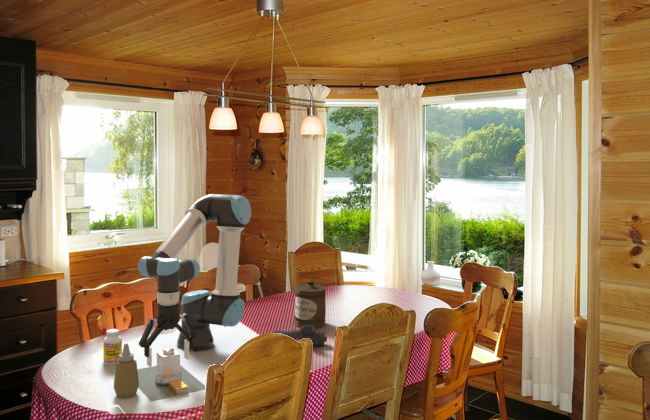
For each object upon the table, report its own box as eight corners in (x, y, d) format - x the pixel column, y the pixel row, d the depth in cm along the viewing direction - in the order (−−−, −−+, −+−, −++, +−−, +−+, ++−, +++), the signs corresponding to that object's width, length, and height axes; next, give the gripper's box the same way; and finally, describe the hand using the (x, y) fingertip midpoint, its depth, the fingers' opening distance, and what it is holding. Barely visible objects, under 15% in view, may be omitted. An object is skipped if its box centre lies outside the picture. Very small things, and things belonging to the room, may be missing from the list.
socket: (173, 370, 211) (173, 346, 210) (180, 375, 206) (180, 351, 205) (156, 373, 208) (156, 349, 207) (162, 379, 203) (162, 354, 202)
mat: (176, 363, 227) (176, 361, 226) (208, 390, 202) (208, 388, 202) (124, 373, 215) (124, 371, 215) (151, 403, 191) (151, 401, 191)
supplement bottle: (102, 366, 221) (102, 333, 220) (104, 360, 228) (103, 328, 226) (121, 365, 223) (121, 332, 222) (122, 359, 229) (122, 327, 228)
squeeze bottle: (108, 398, 193) (107, 346, 191) (124, 389, 201) (124, 338, 199) (128, 403, 190) (127, 349, 188) (144, 393, 198) (144, 342, 196)
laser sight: (276, 340, 259) (276, 317, 258) (327, 342, 257) (327, 320, 256) (273, 347, 249) (273, 324, 248) (325, 349, 247) (326, 326, 246)
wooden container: (288, 325, 281) (289, 280, 279) (306, 318, 293) (307, 275, 291) (313, 331, 272) (314, 284, 270) (331, 323, 284) (332, 279, 282)
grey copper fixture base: (151, 379, 208) (151, 362, 208) (175, 374, 213) (175, 357, 213) (169, 397, 194) (169, 378, 193) (194, 391, 199) (194, 373, 199)
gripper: (135, 310, 194) (136, 372, 196) (206, 300, 209) (205, 358, 211) (129, 305, 200) (129, 365, 202) (197, 296, 215) (197, 352, 217)
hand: (168, 361), depth 206 cm, fingers open, 13 cm apart
